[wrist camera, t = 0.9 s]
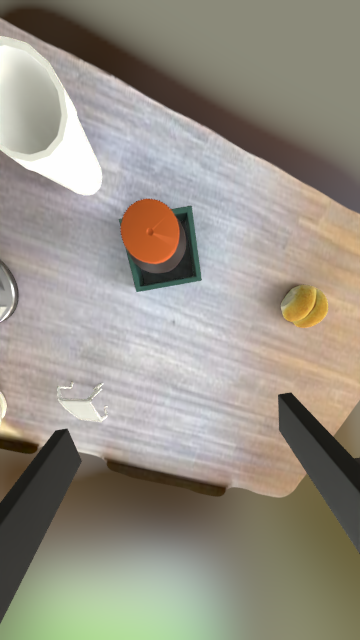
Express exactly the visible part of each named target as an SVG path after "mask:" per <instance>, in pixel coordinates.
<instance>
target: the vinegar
mask: <svg viewBox="0 0 360 640" xmlns="http://www.w3.org/2000/svg"><path fill="white" fill-rule="evenodd" d="M124 213H125V212H124ZM122 218H123V220H121V221H122V223H121V228H120V229H121V231H120V232H121V235H122V238H123V239H122V240H123V241H124V242H123V243H124V245H125V246H126V247H125V248H127V250H128V254H129V255H130V257H131V259H132V260H133V262H134V263H135V264H136V265H138V266H139V267H140V268H141V269H143V270H145V271H148V272H150V273H165V272H169V271H171V270H173V269H175V268H176V266H177V265H178V264H179V262H180V261H181V260H182V258H183V255H184V253H185V250H186V236H185V231H184V228H183V226H182V225H181V223H180V221H179V220H178V219H177V218H176V216H174V214H173V211H171V209H169V207H167V205H165V203H164V204H163V203H162V202H160V201H158V200H155V199H154V200H152V199H147V198H146V199H143V200H142V199H141V200H140V201H139V200H138V201H136V203H134V204H133V205H132V204H131V206H130V207H129V208H128V210H126V213H125V214H124V217H122Z"/></svg>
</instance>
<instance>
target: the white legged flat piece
mask: <svg viewBox="0 0 360 640" xmlns="http://www.w3.org/2000/svg"><path fill="white" fill-rule="evenodd" d="M73 384H74V382H71V384H70V387H64V386H58V387H57V388H58V391H57V393H58V401H59V402H60V404H61V405H62V406H63V407H64V408H65V409H66V410H67V411H68V412H69V413H71V414H72V415H74V416H75V417H77V418H78V419H79V420H88V421H97V422H101V423H102V421H103V420H104V419H105V418H106V417H107V416H108V415H107V411H106V407H108V406H104V411H105V416H102V417H100V415H99V414H98V413H97V411H96V410H95V408H94V407H93V405H92V403H91V401H92V399H93V398H94V397H95V396H96V395H97V394H98V393H99V392H100V391H101V389H102V388H99V387H101V386H102V385H103V384H102V383H100V384H98V385H97V386H96V387H95V388H94V389H93V390H95V391H94V392H93V393H92V394H91V396H90V397H89V398H88V399H62V397H61V392H60V388H66V389H72V386H73Z"/></svg>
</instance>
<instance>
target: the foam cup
mask: <svg viewBox="0 0 360 640" xmlns="http://www.w3.org/2000/svg"><path fill="white" fill-rule="evenodd" d="M0 150H1V151H3V152H4V153H5V154H7V155H8V156H9V157H11V158H12V159H13V160H15V161H16V162H18V163H19V164H21V165H22V166H23V167H25V168H26V169H28V170H32V171H35V172H37V173H39V174H41V175H43V176H45V177H47V178H49V179H51V180H53V181H54V182H56V183H58V184H60V185H62V186H64V187H66V188H68V189H70V190H72V191H74V192H76V193H78V194H81V195H85V196H88V195H92V194H95V193H96V191H97V190H98V189H99V188H100V186H101V183H102V171H101V168H100V165H99V163H98V161H97V158H96V156H95V154H94V152H93V150H92V148H91V145H90V143H89V141H88V139H87V137H86V135H85V132H84V130H83V128H82V126H81V124H80V121H79V119H78V117H77V112H76V109H75V107H74V105H73V103H72V101H71V99H70V98H69V96H68V94H67V92H66V90H65V88H64V87H63V85H62V83H61V82H60V80H59V78H58V76H57V75H56V73H55V71H54V70H53V68H52V66H51V65H50V63H49V62H48V61H47V60H46V59H45V58H44V57H43V56H41V55H40V54H39V53H38V52H37V51H36V50H35V49H34V48H33V47H31V46H30V45H29V44H28V43H26V42H23V41H19V40H16V39H12V38H9V37H5V36H0Z"/></svg>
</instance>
